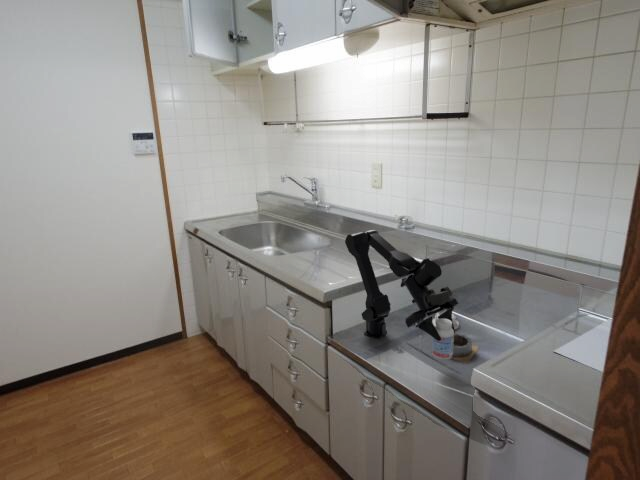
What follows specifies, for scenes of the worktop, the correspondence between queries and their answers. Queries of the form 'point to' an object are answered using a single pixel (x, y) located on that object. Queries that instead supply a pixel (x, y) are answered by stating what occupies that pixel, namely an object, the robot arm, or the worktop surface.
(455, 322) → the mechanical component
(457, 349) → the ring collar
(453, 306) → the robot arm
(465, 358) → the tan square board
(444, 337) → the pill bottle
